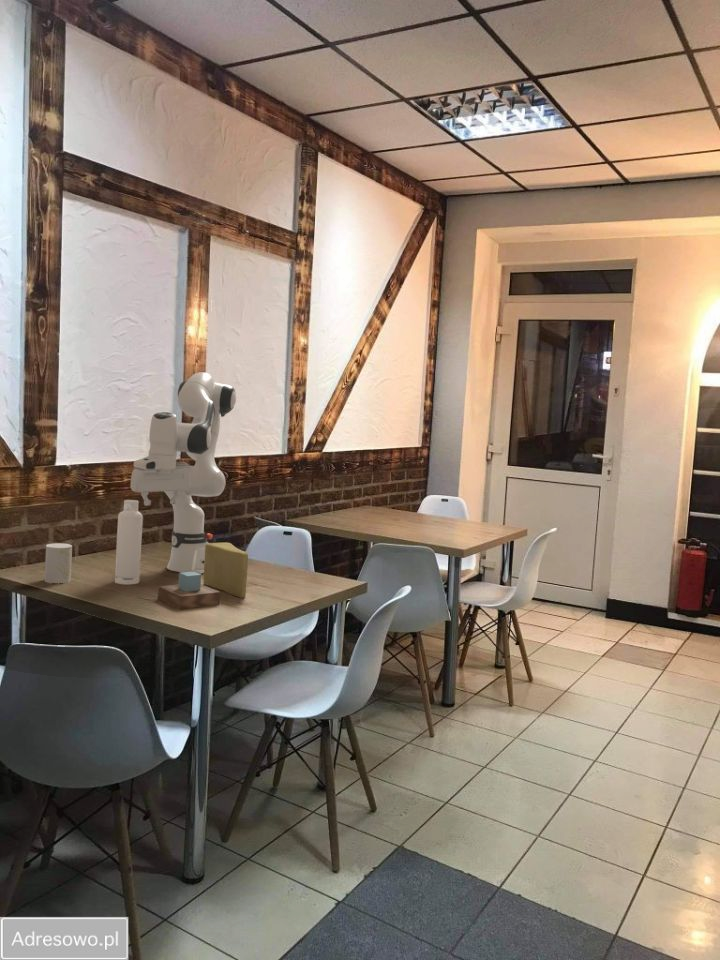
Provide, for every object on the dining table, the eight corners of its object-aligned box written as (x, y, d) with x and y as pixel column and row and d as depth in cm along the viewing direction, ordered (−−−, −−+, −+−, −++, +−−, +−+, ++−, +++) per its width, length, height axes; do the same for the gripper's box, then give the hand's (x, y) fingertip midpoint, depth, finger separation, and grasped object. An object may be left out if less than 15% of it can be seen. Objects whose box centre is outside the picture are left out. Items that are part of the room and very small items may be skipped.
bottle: (144, 581, 274) (148, 501, 271) (128, 585, 266) (132, 503, 264) (125, 577, 277) (130, 498, 275) (109, 581, 270) (113, 500, 267)
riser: (196, 594, 262) (196, 582, 261) (219, 604, 252) (220, 591, 251) (157, 598, 252) (158, 586, 252) (180, 609, 242) (181, 596, 242)
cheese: (256, 597, 265) (259, 553, 263) (230, 599, 259) (233, 554, 258) (227, 582, 283) (230, 541, 281) (202, 584, 277) (204, 542, 275)
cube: (192, 586, 255) (192, 571, 255) (200, 590, 252) (201, 574, 251) (178, 588, 252) (179, 572, 251) (186, 591, 248) (187, 576, 248)
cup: (61, 584, 261) (63, 548, 260) (39, 581, 262) (40, 546, 261) (75, 580, 269) (76, 545, 268) (53, 577, 270) (55, 542, 269)
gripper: (185, 461, 267) (183, 501, 268) (129, 461, 253) (127, 504, 254) (195, 463, 262) (193, 504, 264) (138, 464, 248) (136, 507, 250)
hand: (160, 504), depth 259 cm, fingers open, 8 cm apart
